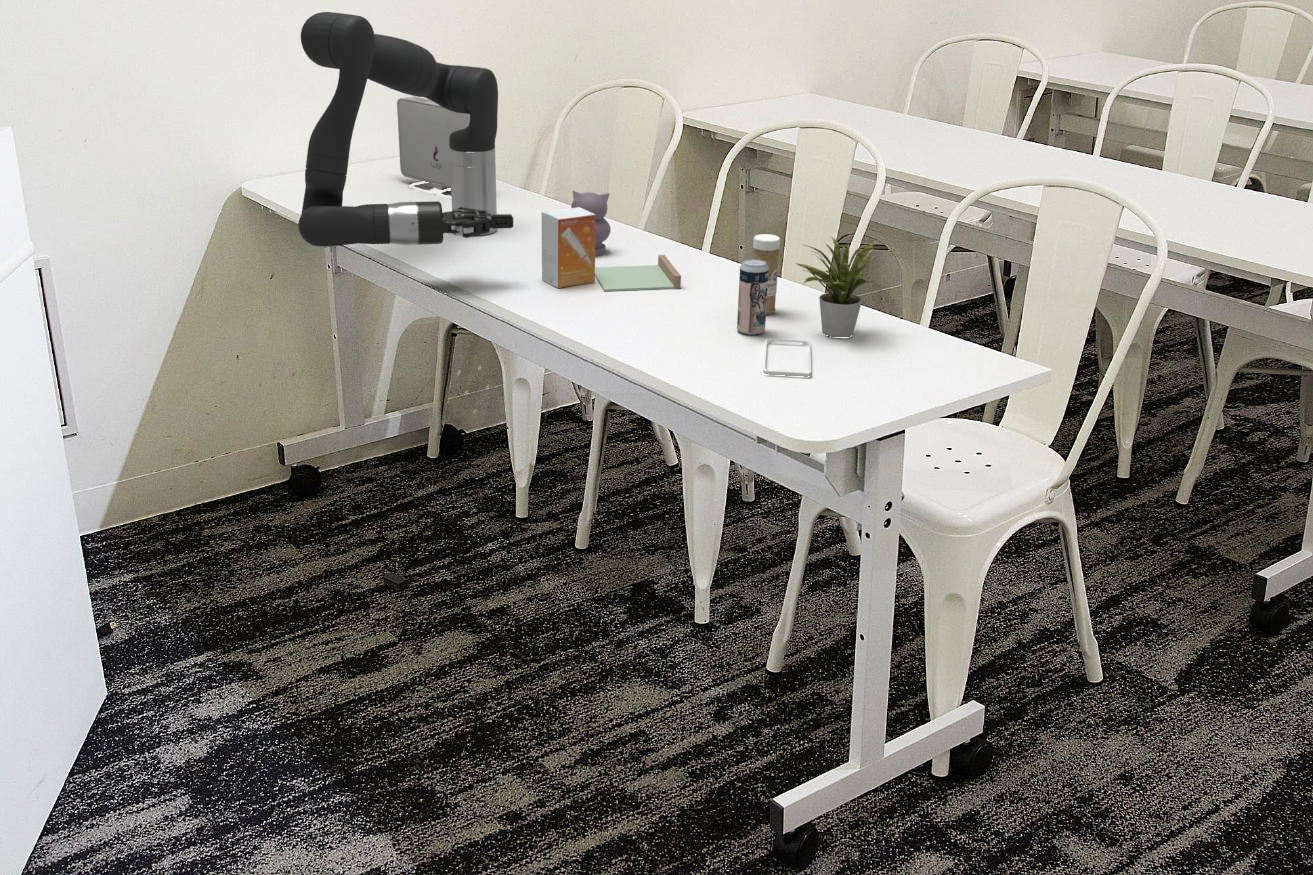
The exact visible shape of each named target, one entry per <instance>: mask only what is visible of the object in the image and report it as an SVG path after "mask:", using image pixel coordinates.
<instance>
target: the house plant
mask: <svg viewBox="0 0 1313 875" xmlns="http://www.w3.org/2000/svg"><path fill="white" fill-rule="evenodd" d="M831 238H832V239H831V240H832V242H833V243H832V244H833V248H834V249H833V248H831V247H830V245H828V244H827V243H824V244H825V246H826V247H827V248H828V249H829V251H830V253H831V255H832V257H833V260H834V261H835V264H834V263H833V262H832V261H831V260H830V258H829V257H828V256H827V255H826V254H825V253H824V252H822V251H821V250H819V249H818V248H816V247H812V246H810V245H807V244H800V245H802V246H804V247H807V248H811V249H813V251H812V250H811V253H815V254H817V255H818V256H817V258H818V259H819V260H820V261H821V262H822V263H823V264H824V266H825V267H826V268H827V270H825V271H823V270H821V269H819V268H816V267H814V266H811V265H807V264H802V263H795V262H794V263H795V264H796V265H797V266H799V267H802V268H804V269H806V270H804V269H803V270H802V271H804V272H807V273H809V274H811V275H812V276H810V277H809V276H808V277H807V278H805V279H804V281H803V282H802V284H805V283H808V282H812V281H813V282H814V281H818V282H819V284H821V285H822V286H823V287H824V288H825V289H826V291H827V292H824V293H822V294H821V295H820V296H819V297H818V298H819V299H818V300H819V309H820V318H821V319H820V321H821V331H822V332H821V334H822V333H823V334H825V335H828V336H831V337H850V336H851V335H854V333H855V328H856V325H857V321H858V318H859V315H860V311H861V306H862V304H863V303H862V302H863V298H861V296H859V295H858V294H854V291H856V289H857V288H859V287H860V286H861V285H864V284H867V283H869V281H868V280H867V279H862V277H864V276H866V275H867V276H869V274H868V273H864V272H862V271H863V270H864V269H865V268H866V266H867V265H868V264H870V263H871V262H872V261H871V260H872V259H873V258H874V257H875V256H876V254H874V255H873V256H872V257H871V258H870V259H869V260H868V261H867V262H866V263H864V262H865V261H866V260H867V258H868V257H869V255H870V254H871V252H872V251H873V249H872V247H873V246H874V245H876V244H879V242H880V241H874V242H872V243H869V244H864V245H861V246H859V247H858V248H856V250H855V251H854V253H853V254H852V256H851V258H850V257H849V256H850V243H849V241H848V242H847V243H846V247H845V246H842V252H843V253H842V255H843V256H842V257H841V249H840V245H839V243H838V241H837V240H836V239H835V237H833V236H831ZM862 248H863V249H862ZM861 249H862V250H861ZM815 251H816V252H815ZM859 251H860V252H859ZM857 253H858V255H857ZM811 255H813V256H814V254H811ZM856 255H857V257H856ZM819 256H822V257H819ZM855 257H856V259H855ZM841 258H842V259H841ZM849 259H850V260H849ZM854 259H855V260H854ZM826 262H827V263H828V264H827V263H826ZM853 262H854V264H853V266H852V263H853ZM863 263H864V264H863ZM835 265H836V266H835ZM851 266H852V268H851ZM836 267H837V268H836ZM850 268H851V270H850ZM870 283H872V284H875V285H878V282H876V281H870ZM827 287H828V288H827ZM823 334H822V335H823ZM850 338H851V337H850Z"/></svg>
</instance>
